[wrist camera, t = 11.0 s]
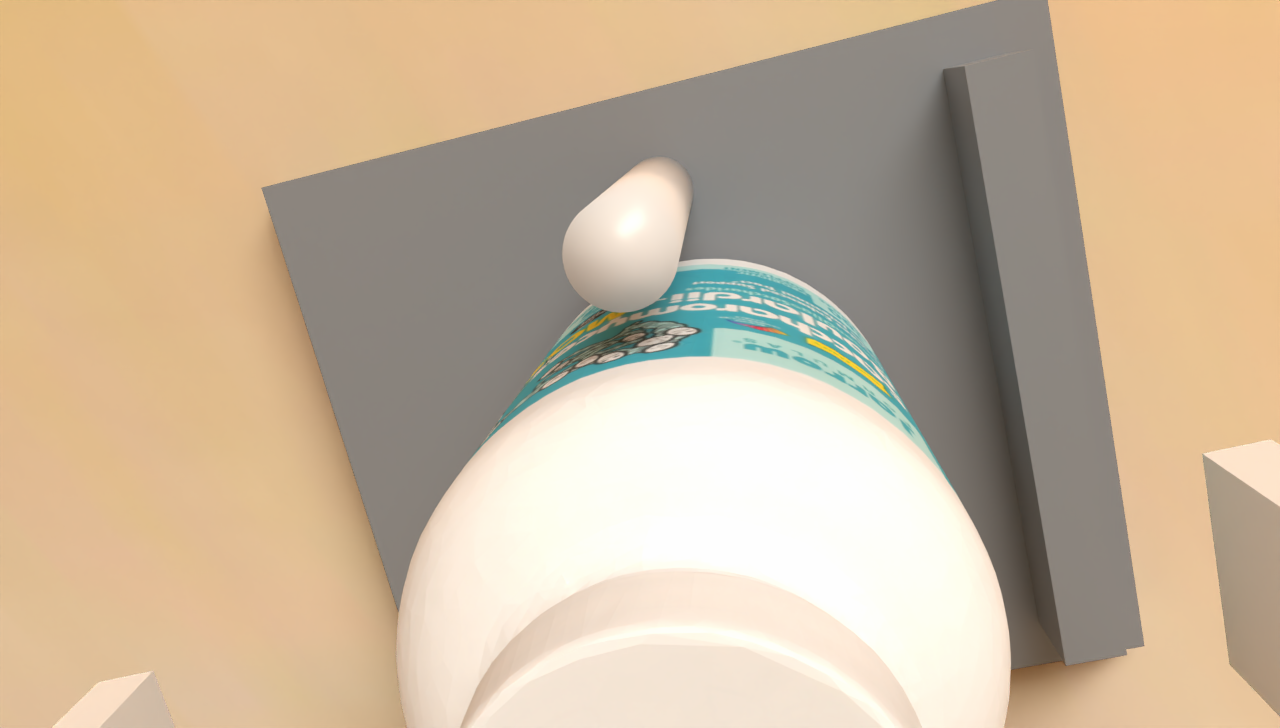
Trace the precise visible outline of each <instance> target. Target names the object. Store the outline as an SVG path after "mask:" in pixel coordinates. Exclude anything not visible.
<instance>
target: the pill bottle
mask: <svg viewBox="0 0 1280 728" xmlns="http://www.w3.org/2000/svg"><path fill="white" fill-rule="evenodd" d="M396 664H397V678H398V686H399V693H400V701H401V705H402V710H403V714H404V718H405V722H406V726H407V728H1004V725H1005V720H1006V714H1007V708H1008V703H1009V694H1010V674H1011V651H1010V638H1009V629H1008V623H1007V617H1006V612H1005V607H1004V602H1003V598H1002V594H1001V590H1000V587H999V583H998V580H997V576H996V573H995V570H994V568H993V565H992V563H991V560H990V558H989V555H988V553H987V550H986V548H985V546H984V544H983V542H982V540H981V538H980V536H979V534H978V532H977V529H976V528H975V526H974V524H973V522H972V520H971V519H970V517H969V515H968V513H967V511H966V510H965V508H964V506H963V504H962V502H961V501H960V499H959V497H958V495H957V493H956V492H955V490H954V488H953V486H952V485H951V483H950V481H949V480H948V478H947V476H946V474H945V473H944V471H943V469H942V468H941V466H940V464H939V462H938V461H937V459H936V457H935V456H934V454H933V452H932V450H931V449H930V447H929V445H928V444H927V442H926V440H925V438H924V437H923V435H922V433H921V432H920V430H919V428H918V426H917V425H916V423H915V421H914V420H913V418H912V416H911V414H910V413H909V411H908V409H907V408H906V406H905V404H904V402H903V401H902V399H901V397H900V396H899V394H898V392H897V390H896V389H895V387H894V385H893V383H892V382H891V380H890V378H889V376H888V375H887V373H886V371H885V370H884V368H883V366H882V364H881V363H880V361H879V360H878V358H877V356H876V355H875V353H874V351H873V350H872V348H871V346H870V345H869V343H868V341H867V340H866V339H865V337H864V336H863V335H862V333H861V332H860V331H859V329H858V328H857V327H856V326H855V324H854V323H853V322H852V321H851V320H850V319H849V317H848V316H847V315H846V314H845V313H844V312H843V311H842V310H840V309H839V308H838V307H837V306H836V305H835V304H834V303H833V302H832V301H830V300H829V299H828V298H827V297H825V296H824V295H823V294H821V293H820V292H818V291H817V290H815V289H814V288H812V287H811V286H809V285H808V284H806V283H804V282H802V281H800V280H798V279H796V278H794V277H792V276H790V275H789V274H787V273H784V272H781V271H778V270H775V269H772V268H770V267H767V266H763V265H759V264H755V263H751V262H746V261H740V260H730V259H694V260H688V261H681V262H679V263H678V267H677V271H676V274H675V277H674V279H673V281H672V283H671V285H670V287H669V288H668V289H667V291H666V292H665V293H664V294H663V295H662V296H661V297H660V298H659V299H658V300H657V301H655V302H654V303H652V304H651V305H649V306H647V307H645V308H643V309H640V310H636V311H632V312H622V313H619V312H610V311H606V310H603V309H600V308H597V307H596V306H594V305H592V304H590V305H589V306H588V307H587V308H585V309H584V310H583V311H582V312H581V313H580V314H579V315H578V316H577V317H576V319H575V320H574V321H573V322H572V323H571V324H570V326H569V327H568V328H567V329H566V330H565V332H564V333H563V334H562V335H561V337H560V338H559V339H558V341H557V342H556V344H555V345H554V346H553V348H552V349H551V350H550V351H549V352H548V354H547V356H546V357H545V358H544V360H543V361H542V362H541V364H540V365H539V366H538V368H537V369H536V370H535V372H534V373H533V374H532V376H531V377H530V379H529V380H528V381H527V383H526V384H525V385H524V387H523V388H522V389H521V391H520V392H519V393H518V395H517V396H516V397H515V399H514V400H513V402H512V403H511V404H510V406H509V407H508V409H507V410H506V411H505V412H504V413H503V415H502V416H501V418H500V419H499V420H498V422H497V423H496V425H495V426H494V427H493V429H492V430H491V431H490V433H489V434H488V436H487V437H486V438H485V440H484V441H483V442H482V444H481V445H480V446H479V448H478V449H477V450H476V452H475V453H474V454H473V456H472V457H471V458H470V460H469V461H468V462H467V464H466V465H465V467H464V468H463V469H462V471H461V472H460V474H459V475H458V476H457V478H456V479H455V480H454V482H453V483H452V484H451V486H450V487H449V489H448V490H447V491H446V493H445V494H444V496H443V497H442V499H441V501H440V502H439V504H438V505H437V507H436V508H435V510H434V512H433V514H432V515H431V517H430V519H429V521H428V523H427V525H426V527H425V528H424V530H423V532H422V534H421V536H420V538H419V541H418V543H417V546H416V549H415V551H414V554H413V556H412V559H411V562H410V566H409V569H408V573H407V577H406V581H405V584H404V588H403V593H402V598H401V603H400V608H399V616H398V626H397V642H396Z"/></svg>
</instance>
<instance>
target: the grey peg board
mask: <svg viewBox="0 0 1280 728" xmlns="http://www.w3.org/2000/svg"><path fill="white" fill-rule="evenodd" d="M262 191H263V194H264V197H265V200H266V203H267V206H268V209H269V212H270V215H271V218H272V222H273V225H274V228H275V231H276V234H277V237H278V240H279V243H280V246H281V249H282V253H283V256H284V259H285V262H286V265H287V268H288V271H289V274H290V277H291V280H292V284H293V287H294V290H295V293H296V296H297V299H298V302H299V305H300V308H301V311H302V315H303V318H304V321H305V324H306V327H307V330H308V333H309V336H310V339H311V342H312V346H313V349H314V352H315V355H316V358H317V361H318V364H319V367H320V370H321V373H322V377H323V380H324V383H325V386H326V389H327V392H328V395H329V398H330V401H331V404H332V408H333V411H334V414H335V417H336V420H337V423H338V426H339V429H340V432H341V435H342V439H343V442H344V445H345V448H346V451H347V454H348V457H349V460H350V463H351V466H352V470H353V473H354V476H355V479H356V482H357V485H358V488H359V491H360V494H361V497H362V501H363V504H364V507H365V510H366V513H367V516H368V519H369V522H370V525H371V528H372V532H373V535H374V538H375V541H376V544H377V547H378V550H379V553H380V556H381V559H382V563H383V566H384V569H385V572H386V575H387V578H388V581H389V584H390V587H391V590H392V594H393V597H394V600H395V603H396V606H397V609H398V612H399V608H400V603H401V598H402V593H403V588H404V584H405V581H406V577H407V573H408V569H409V566H410V562H411V559H412V556H413V554H414V551H415V549H416V546H417V543H418V541H419V538H420V536H421V534H422V532H423V530H424V528H425V527H426V525H427V523H428V521H429V519H430V517H431V515H432V514H433V512H434V510H435V508H436V507H437V505H438V504H439V502H440V501H441V499H442V497H443V496H444V494H445V493H446V491H447V490H448V489H449V487H450V486H451V484H452V483H453V482H454V480H455V479H456V478H457V476H458V475H459V474H460V472H461V471H462V469H463V468H464V467H465V465H466V464H467V462H468V461H469V460H470V458H471V457H472V456H473V454H474V453H475V452H476V450H477V449H478V448H479V446H480V445H481V444H482V442H483V441H484V440H485V438H486V437H487V436H488V434H489V433H490V431H491V430H492V429H493V427H494V426H495V425H496V423H497V422H498V420H499V419H500V418H501V416H502V415H503V413H504V412H505V411H506V410H507V409H508V407H509V406H510V404H511V403H512V402H513V400H514V399H515V397H516V396H517V395H518V393H519V392H520V391H521V389H522V388H523V387H524V385H525V384H526V383H527V381H528V380H529V379H530V377H531V376H532V374H533V373H534V372H535V370H536V369H537V368H538V366H539V365H540V364H541V362H542V361H543V360H544V358H545V357H546V356H547V354H548V352H549V351H550V350H551V349H552V348H553V346H554V345H555V344H556V342H557V341H558V339H559V338H560V337H561V335H562V334H563V333H564V332H565V330H566V329H567V328H568V327H569V326H570V324H571V323H572V322H573V321H574V320H575V319H576V317H577V316H578V315H579V314H580V313H581V312H582V311H583V310H584V309H585V308H587V307H588V306H589V305H590V304H592V305H594V306H596V307H597V308H600V309H603V310H606V311H610V312H619V313H622V312H632V311H636V310H640V309H643V308H645V307H647V306H649V305H651V304H652V303H654V302H655V301H657V300H658V299H659V298H660V297H661V296H662V295H663V294H664V293H665V292H666V291H667V289H668V288H669V287H670V285H671V283H672V281H673V279H674V277H675V274H676V271H677V267H678V263H679V262H681V261H688V260H694V259H730V260H740V261H746V262H751V263H755V264H759V265H763V266H767V267H770V268H772V269H775V270H778V271H781V272H784V273H787V274H789V275H790V276H792V277H794V278H796V279H798V280H800V281H802V282H804V283H806V284H808V285H809V286H811V287H812V288H814V289H815V290H817V291H818V292H820V293H821V294H823V295H824V296H825V297H827V298H828V299H829V300H830V301H832V302H833V303H834V304H835V305H836V306H837V307H838V308H839V309H840V310H842V311H843V312H844V313H845V314H846V315H847V316H848V317H849V319H850V320H851V321H852V322H853V323H854V324H855V326H856V327H857V328H858V329H859V331H860V332H861V333H862V335H863V336H864V337H865V339H866V340H867V341H868V343H869V345H870V346H871V348H872V350H873V351H874V353H875V355H876V356H877V358H878V360H879V361H880V363H881V364H882V366H883V368H884V370H885V371H886V373H887V375H888V376H889V378H890V380H891V382H892V383H893V385H894V387H895V389H896V390H897V392H898V394H899V396H900V397H901V399H902V401H903V402H904V404H905V406H906V408H907V409H908V411H909V413H910V414H911V416H912V418H913V420H914V421H915V423H916V425H917V426H918V428H919V430H920V432H921V433H922V435H923V437H924V438H925V440H926V442H927V444H928V445H929V447H930V449H931V450H932V452H933V454H934V456H935V457H936V459H937V461H938V462H939V464H940V466H941V468H942V469H943V471H944V473H945V474H946V476H947V478H948V480H949V481H950V483H951V485H952V486H953V488H954V490H955V492H956V493H957V495H958V497H959V499H960V501H961V502H962V504H963V506H964V508H965V510H966V511H967V513H968V515H969V517H970V519H971V520H972V522H973V524H974V526H975V528H976V529H977V532H978V534H979V536H980V538H981V540H982V542H983V544H984V546H985V548H986V550H987V553H988V555H989V558H990V560H991V563H992V565H993V568H994V570H995V573H996V576H997V580H998V583H999V587H1000V590H1001V594H1002V598H1003V602H1004V607H1005V612H1006V617H1007V623H1008V629H1009V638H1010V651H1011V670H1013V669H1018V668H1024V667H1029V666H1035V665H1041V664H1046V663H1052V662H1058V661H1063V662H1064V663H1065V665H1066V666H1068V665H1073V664H1079V663H1085V662H1090V661H1096V660H1102V659H1107V658H1113V657H1119V656H1124V655H1127V652H1126V649H1131V648H1136V647H1142V646H1144V641H1143V634H1142V627H1141V620H1140V614H1139V607H1138V600H1137V594H1136V587H1135V580H1134V574H1133V567H1132V560H1131V554H1130V547H1129V540H1128V534H1127V527H1126V520H1125V514H1124V507H1123V500H1122V494H1121V487H1120V480H1119V474H1118V467H1117V460H1116V454H1115V447H1114V440H1113V434H1112V427H1111V420H1110V414H1109V407H1108V400H1107V394H1106V387H1105V380H1104V374H1103V367H1102V360H1101V354H1100V347H1099V340H1098V334H1097V327H1096V320H1095V314H1094V307H1093V300H1092V294H1091V287H1090V280H1089V274H1088V267H1087V260H1086V254H1085V247H1084V240H1083V233H1082V227H1081V220H1080V213H1079V207H1078V200H1077V193H1076V187H1075V180H1074V173H1073V167H1072V160H1071V153H1070V147H1069V140H1068V133H1067V127H1066V120H1065V113H1064V107H1063V100H1062V93H1061V87H1060V80H1059V73H1058V67H1057V60H1056V53H1055V47H1054V40H1053V33H1052V27H1051V20H1050V13H1049V7H1048V0H996V1H993V2H989V3H985V4H981V5H977V6H973V7H969V8H965V9H961V10H957V11H953V12H949V13H945V14H942V15H938V16H934V17H930V18H926V19H922V20H918V21H914V22H910V23H906V24H902V25H898V26H894V27H891V28H887V29H883V30H879V31H875V32H871V33H867V34H863V35H859V36H855V37H851V38H847V39H843V40H840V41H836V42H832V43H828V44H824V45H820V46H816V47H812V48H808V49H804V50H800V51H796V52H793V53H789V54H785V55H781V56H777V57H773V58H769V59H765V60H761V61H757V62H753V63H749V64H745V65H742V66H738V67H734V68H730V69H726V70H722V71H718V72H714V73H710V74H706V75H702V76H698V77H694V78H691V79H687V80H683V81H679V82H675V83H671V84H667V85H663V86H659V87H655V88H651V89H647V90H643V91H640V92H636V93H632V94H628V95H624V96H620V97H616V98H612V99H608V100H604V101H600V102H596V103H593V104H589V105H585V106H581V107H577V108H573V109H569V110H565V111H561V112H557V113H553V114H549V115H545V116H542V117H538V118H534V119H530V120H526V121H522V122H518V123H514V124H510V125H506V126H502V127H498V128H494V129H491V130H487V131H483V132H479V133H475V134H471V135H467V136H463V137H459V138H455V139H451V140H447V141H443V142H440V143H436V144H432V145H428V146H424V147H420V148H416V149H412V150H408V151H404V152H400V153H396V154H393V155H389V156H385V157H381V158H377V159H373V160H369V161H365V162H361V163H357V164H353V165H349V166H345V167H342V168H338V169H334V170H330V171H326V172H322V173H318V174H314V175H310V176H306V177H302V178H298V179H294V180H291V181H287V182H283V183H279V184H275V185H271V186H267V187H263V188H262Z"/></svg>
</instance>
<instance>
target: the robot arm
mask: <svg viewBox="0 0 1280 728" xmlns="http://www.w3.org/2000/svg"><path fill="white" fill-rule="evenodd" d="M1202 455H1203V463H1204V471H1205V478H1206V486H1207V494H1208V501H1209V509H1210V517H1211V525H1212V532H1213V540H1214V548H1215V556H1216V563H1217V571H1218V579H1219V586H1220V594H1221V602H1222V610H1223V617H1224V625H1225V633H1226V640H1227V648H1228V656H1229V664H1230V665H1231V666H1232V667H1233V668H1234V669H1235V670H1236V671H1237V672H1238V674H1239V675H1240V676H1241V677H1242V678H1243V679H1244V680H1245V681H1246V682H1247V683H1248V684H1249V685H1250V686H1251V687H1252V688H1253V689H1254V690H1255V691H1256V692H1257V693H1258V694H1259V695H1260V696H1261V697H1262V699H1263V700H1264V701H1265V702H1266V703H1267V704H1268V705H1269V706H1270V707H1271V708H1272V709H1273V710H1274V711H1275V712H1276V713H1277V714H1278V715H1279V716H1280V445H1279V444H1278V443H1276V442H1274V441H1272V440H1266V441H1261V442H1256V443H1251V444H1246V445H1242V446H1237V447H1232V448H1227V449H1222V450H1217V451H1213V452H1208V453H1203V454H1202ZM52 728H175V726H174V723H173V720H172V718H171V715H170V713H169V710H168V707H167V705H166V702H165V700H164V697H163V694H162V692H161V689H160V687H159V684H158V682H157V679H156V676H155V674H154V671H150V672H145V673H140V674H135V675H130V676H125V677H121V678H116V679H111V680H106V681H101V682H98V683H97V684H96V685H95V686H94V687H93V688H92V689H91V690H90V691H89V692H88V693H87V694H86V695H85V696H84V697H83V698H82V699H81V700H80V701H79V702H78V703H77V704H75V705H74V706H73V707H72V708H71V709H70V710H69V711H68V712H67V713H66V714H65V715H64V716H63V717H62V718H61V719H60V720H59V721H58V722H57V723H56V724H55V725H54V726H53V727H52Z"/></svg>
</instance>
